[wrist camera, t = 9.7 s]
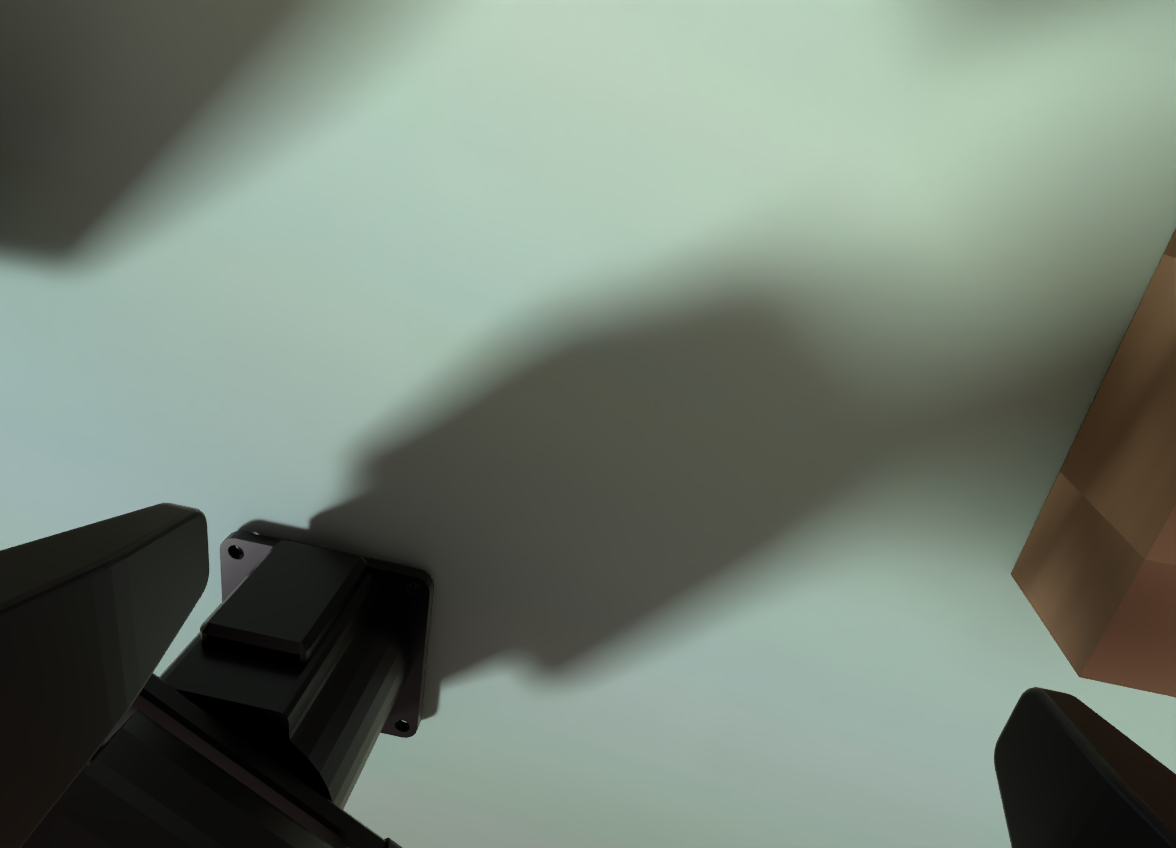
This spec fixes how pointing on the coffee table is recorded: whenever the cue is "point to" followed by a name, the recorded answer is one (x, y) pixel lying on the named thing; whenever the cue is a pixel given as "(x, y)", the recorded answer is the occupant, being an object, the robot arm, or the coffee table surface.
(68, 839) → the robot arm
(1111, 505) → the hole block
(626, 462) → the coffee table surface
